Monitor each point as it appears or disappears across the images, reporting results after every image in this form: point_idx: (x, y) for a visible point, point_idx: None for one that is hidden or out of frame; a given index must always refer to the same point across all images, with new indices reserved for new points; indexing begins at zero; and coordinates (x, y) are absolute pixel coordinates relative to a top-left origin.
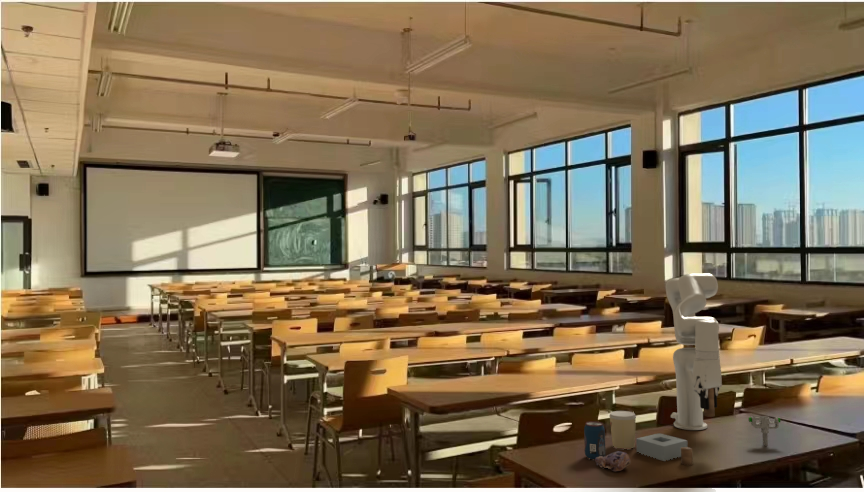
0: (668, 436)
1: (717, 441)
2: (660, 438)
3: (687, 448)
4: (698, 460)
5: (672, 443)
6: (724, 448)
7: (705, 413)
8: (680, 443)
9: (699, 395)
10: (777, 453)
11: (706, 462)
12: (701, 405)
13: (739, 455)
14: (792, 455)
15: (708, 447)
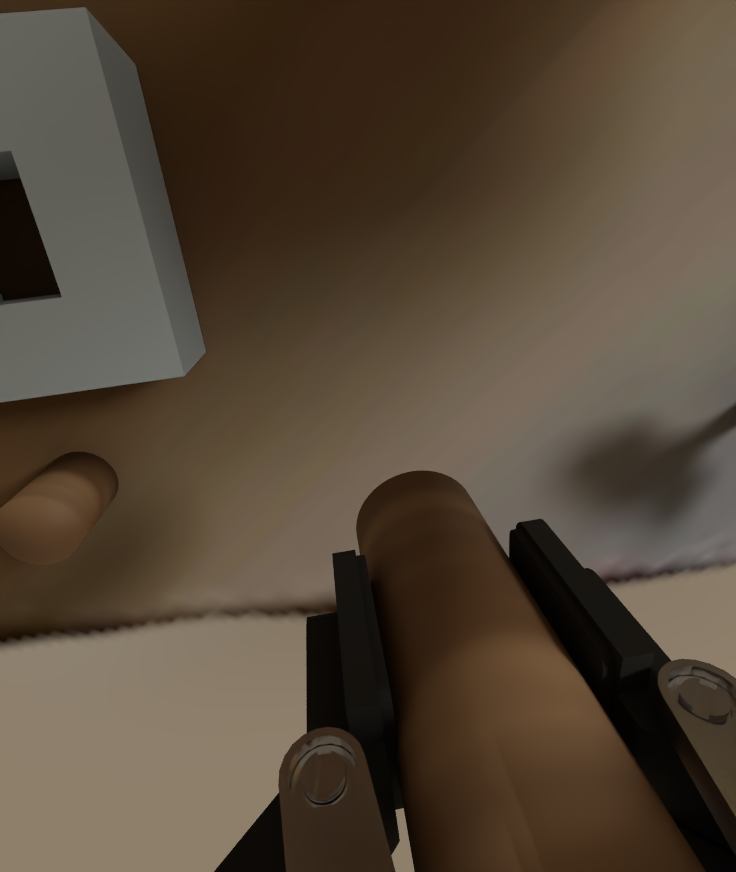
0: (102, 182)
1: (627, 200)
2: (14, 155)
3: (46, 532)
4: (194, 462)
5: (1, 387)
6: (520, 350)
7: (359, 549)
8: (99, 385)
9: (253, 828)
10: (645, 532)
11: (212, 506)
12: (307, 627)
13: (471, 485)
14: (663, 576)
15: (458, 283)
